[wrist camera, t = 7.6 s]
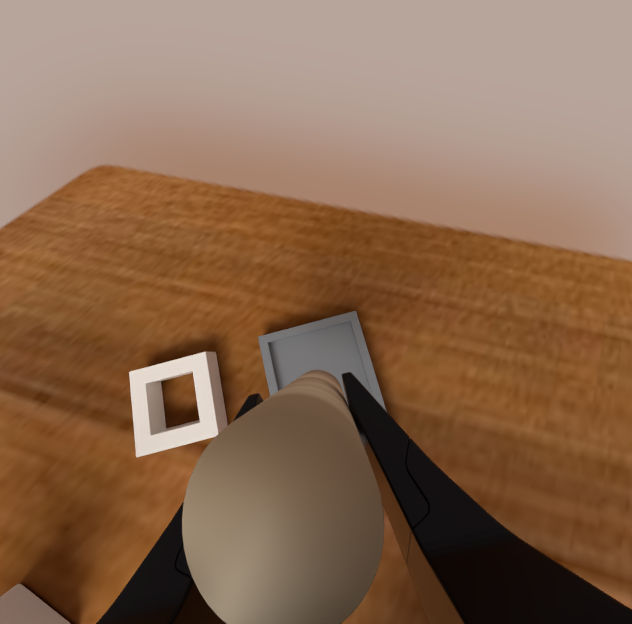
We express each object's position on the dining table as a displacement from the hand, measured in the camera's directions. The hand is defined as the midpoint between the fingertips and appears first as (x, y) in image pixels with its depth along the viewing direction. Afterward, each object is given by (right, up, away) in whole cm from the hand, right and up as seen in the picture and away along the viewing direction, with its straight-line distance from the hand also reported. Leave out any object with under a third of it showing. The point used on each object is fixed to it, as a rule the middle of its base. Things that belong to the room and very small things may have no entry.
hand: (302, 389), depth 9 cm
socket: (-13, -6, +13) cm, 19 cm away
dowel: (+1, -3, +6) cm, 7 cm away
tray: (+1, -4, +13) cm, 13 cm away
